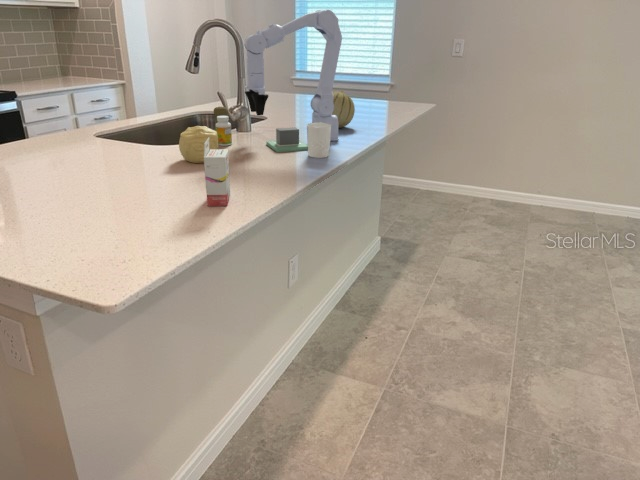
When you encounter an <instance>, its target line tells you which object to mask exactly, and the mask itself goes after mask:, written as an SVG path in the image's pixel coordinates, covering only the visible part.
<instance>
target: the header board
mask: <svg viewBox="0 0 640 480" xmlns="http://www.w3.org/2000/svg"><path fill="white" fill-rule="evenodd" d="M266 146H267V147H269V148H270V149H272V151H274V152H276V153H283V152H284V153H285V152H286V153H287V152H299V151H308V143H305V142H304V141H302V140H300V139H299V144H292V145H279V144H277V143H276V140H266Z"/></svg>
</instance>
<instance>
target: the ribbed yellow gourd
mask: <svg viewBox="0 0 640 480" xmlns="http://www.w3.org/2000/svg"><path fill="white" fill-rule="evenodd" d="M333 96H334V97H333V103H334V110H333V112H332V115H336V116H337V118H338V123H339V125H338V129H341V127H342V128H345V127H346V126H348V125H349V124H350V123H351V122H352V121H353V118H354V115H355V113H356V109H355V108H356V107H355V103H354V100H353V99H352V97H350V96H349V95H348V94H346V93H344V90H342V89H340V91H333Z"/></svg>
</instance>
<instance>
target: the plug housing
mask: <svg viewBox="0 0 640 480" xmlns="http://www.w3.org/2000/svg"><path fill="white" fill-rule="evenodd" d="M275 135H276V136H275V137H276V138H275V139H276V140H275V141H276V143H277V144H279V145H292V144H299V140H300V129H299V128H297V127H281V128H279V127H278V128H275Z"/></svg>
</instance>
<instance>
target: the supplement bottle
mask: <svg viewBox="0 0 640 480" xmlns="http://www.w3.org/2000/svg"><path fill="white" fill-rule="evenodd" d="M229 118H230V117H229V115H227V116H217V121H218V123H216V125H215V124H214V127H215V126H216V132H217V135H218V146H221V147H228V146H232V144H233V137H232V124H231V122H229V120H230V119H229Z"/></svg>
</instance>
